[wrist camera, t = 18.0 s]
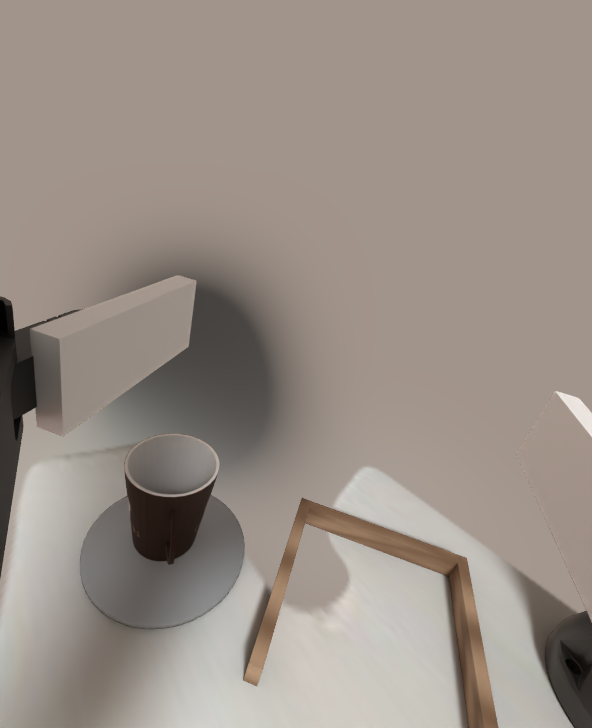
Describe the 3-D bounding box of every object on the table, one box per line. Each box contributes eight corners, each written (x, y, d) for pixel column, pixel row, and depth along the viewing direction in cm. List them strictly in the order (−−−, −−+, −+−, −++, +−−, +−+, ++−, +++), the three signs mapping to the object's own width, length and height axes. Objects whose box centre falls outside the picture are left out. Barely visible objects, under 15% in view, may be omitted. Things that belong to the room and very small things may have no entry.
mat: (268, 588, 40) (270, 583, 40) (91, 663, 31) (91, 657, 31) (213, 478, 51) (213, 474, 51) (72, 510, 43) (72, 505, 42)
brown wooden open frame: (491, 787, 30) (506, 773, 29) (243, 680, 32) (248, 663, 31) (458, 571, 47) (466, 558, 46) (297, 512, 50) (302, 497, 48)
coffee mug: (146, 493, 46) (152, 424, 41) (217, 515, 45) (230, 447, 41) (82, 585, 35) (81, 505, 31) (173, 613, 35) (185, 537, 31)
